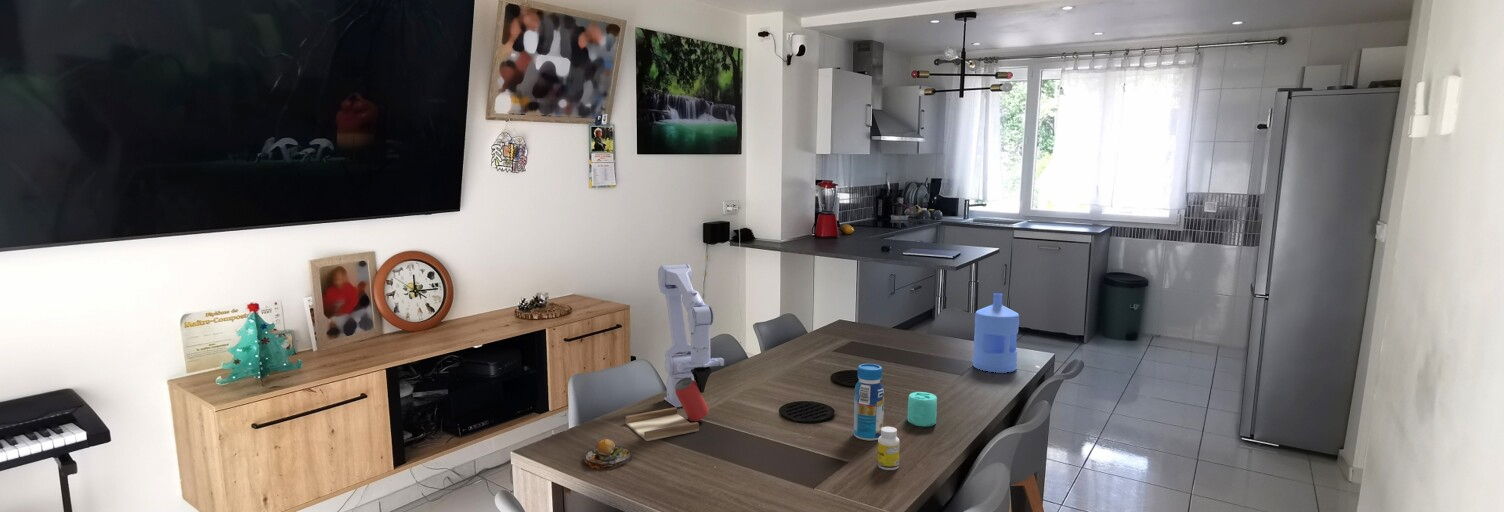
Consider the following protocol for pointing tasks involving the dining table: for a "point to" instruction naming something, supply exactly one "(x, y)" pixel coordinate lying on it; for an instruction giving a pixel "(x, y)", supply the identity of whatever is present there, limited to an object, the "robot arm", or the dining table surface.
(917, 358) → the dining table surface
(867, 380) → the beverage bottle
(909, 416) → the turquoise short cylinder
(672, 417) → the birch tray
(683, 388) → the beer can
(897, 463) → the supplement bottle
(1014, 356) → the water jug
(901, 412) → the dining table surface
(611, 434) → the dining table surface
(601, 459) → the food on plate
